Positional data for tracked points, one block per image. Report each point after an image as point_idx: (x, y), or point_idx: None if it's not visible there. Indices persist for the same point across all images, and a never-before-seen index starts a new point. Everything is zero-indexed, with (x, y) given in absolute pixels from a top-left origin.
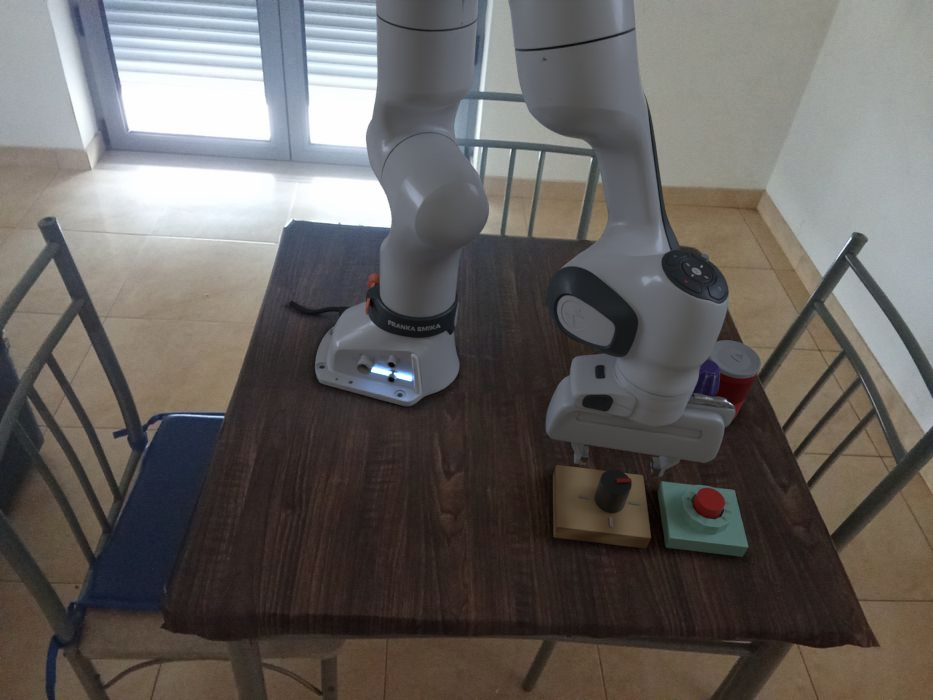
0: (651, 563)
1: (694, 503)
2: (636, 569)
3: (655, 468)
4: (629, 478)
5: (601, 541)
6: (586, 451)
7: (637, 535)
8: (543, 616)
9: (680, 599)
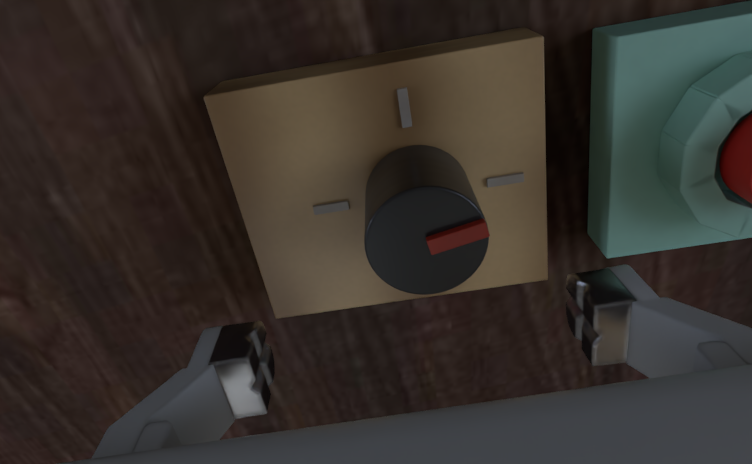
0: (542, 283)
1: (728, 167)
2: (502, 307)
3: (599, 363)
4: (479, 225)
5: None
6: (246, 388)
7: (507, 282)
8: None
9: None
